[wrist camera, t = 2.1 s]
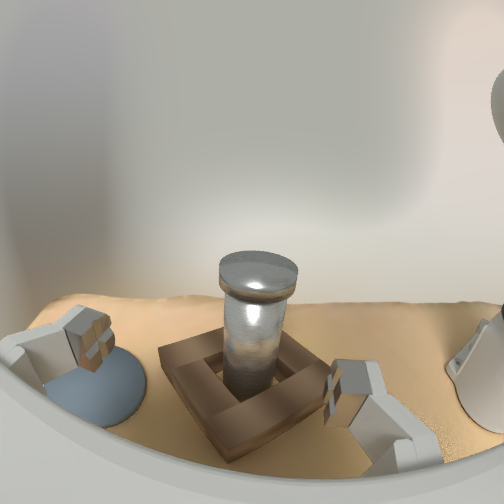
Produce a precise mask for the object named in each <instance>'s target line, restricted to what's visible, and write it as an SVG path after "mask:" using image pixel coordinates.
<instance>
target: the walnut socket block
mask: <svg viewBox="0 0 504 504" xmlns="http://www.w3.org/2000/svg"><path fill="white" fill-rule="evenodd" d="M223 341H224V327H222V328H219V329H216V330H213V331H210V332H207V333H204V334H201V335H197V336H194V337H191V338H188V339H185V340H182V341H178V342H175V343H172V344H169V345H165V346H162V347H159V348H158V352H159V357H160V363H161V367H162V369H163V371H164V372H165V374H166V376H167V378H168V379H169V381H170V383H171V384H172V386H173V387H174V389H175V391H176V392H177V394H178V395H179V397H180V398H181V400H182V402H183V403H184V405H185V406H186V408H187V409H188V411H189V412H190V414H191V415H192V417H193V418H194V419H195V421H196V422H197V424H198V425H199V427H200V428H201V429H202V431H203V432H204V433H205V435H206V436H207V438H208V439H209V440H210V442H211V443H212V444H213V446H214V447H215V448H216V449H217V451H218V452H219V453H220V455H221V456H222V457H223V458H224V460H225V461H226V462H227V463H230V462H232V461H234V460H236V459H238V458H240V457H242V456H244V455H246V454H248V453H249V452H251V451H253V450H255V449H257V448H258V447H260V446H262V445H264V444H265V443H267V442H269V441H270V440H272V439H274V438H275V437H277V436H279V435H280V434H282V433H283V432H285V431H287V430H288V429H290V428H291V427H293V426H294V425H296V424H297V423H299V422H300V421H302V420H303V419H305V418H306V417H308V416H309V415H311V414H312V413H313V412H315V411H316V410H318V409H319V408H320V407H322V406H323V405H324V404H325V403H324V401H323V390H324V385H325V381H326V378H327V376H328V375H330V374H331V367H330V366H328V365H327V364H326V363H324V362H323V361H322V360H320V359H319V358H318V357H316V356H315V355H314V354H312V353H311V352H310V351H308V350H307V349H306V348H304V347H303V346H302V345H300V344H299V343H298V342H297V341H295V340H294V339H293V338H291V337H290V336H289V335H288V334H286V333H285V332H284V331H282V332H281V337H280V343H279V348H278V354H277V359H276V364H275V369H274V374H273V376H274V377H275V378H276V379H277V380H278V381H279V382H280V383H278V384H277V385H275V386H273V387H271V388H269V389H267V390H265V391H263V392H262V393H260V394H258V395H256V396H254V397H252V398H250V399H248V400H246V401H244V402H242V403H239V401H238V400H237V399H236V398H235V397H234V396H233V395H232V393H231V392H230V391H229V390H228V389H227V388H226V387H225V385H224V384H223V383H222V382H221V381H220V379H219V378H218V377H217V376H216V375H215V373H217V372H219V371H222V370H223Z"/></svg>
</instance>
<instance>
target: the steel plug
mask: <svg viewBox="0 0 504 504" xmlns="http://www.w3.org/2000/svg"><path fill="white" fill-rule="evenodd" d="M297 275H298V268H297V266H296V265H295V264H294V263H293V262H292V261H291V260H289V259H287V258H285V257H283V256H281V255H278V254H274V253H270V252H264V251H240V252H235V253H231V254H229V255H227V256H225V257H224V258H222V259H221V261H220V264H219V285H220V287H221V289H222V290H223V291H224V292H225V306H224V341H223V384H224V385H225V387H226V388H227V389H228V390H229V391H230V392H231V393H232V395H233V396H234V397H235V398H236V399H237V400H238V401H239V403H242V402H244V401H246V400H248V399H250V398H252V397H254V396H256V395H258V394H260V393H262V392H263V391H265V390H267V389H269V388H271V384H272V379H273V374H274V369H275V364H276V359H277V354H278V348H279V343H280V337H281V332H282V326H283V320H284V315H285V309H286V303H287V298H289V297H290V296H291V295H292V294H293V293H294V291H295V287H296V281H297Z"/></svg>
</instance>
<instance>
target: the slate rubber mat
mask: <svg viewBox="0 0 504 504" xmlns="http://www.w3.org/2000/svg"><path fill="white" fill-rule="evenodd" d="M44 388H45V390H46V392H47V397H48V398H49V399H51V400H52V401H54V402H56V403H57V404H59V405H61V406H62V407H64V408H66V409H67V410H69V411H71V412H73V413H74V414H76V415H78V416H80V417H82V418H83V419H85V420H87V421H89V422H91V423H93V424H95V425H97V426H99V427H101V428H103V429H105V428H109V427H112V426H115V425H117V424H119V423H121V422H123V421H125V420H126V419H128V418H129V417H130V416H131V415H132V414H133V413H134V412H135V411H136V410H137V409H138V407H139V406H140V404H141V403H142V400H143V398H144V395H145V391H146V380H145V375H144V372H143V369H142V366H141V365H140V363H139V361H138V360H137V359H136V358H135V357H134V356H133V355H132V354H131V353H129V352H128V351H126V350H124V349H122V348H119V347H117V346H114V348H113V350H112V352H111V353H110V354H109V355H108V356H105V357H103V363H102V364H101V365H100V367H99V368H98V369H97V370H96V372H95V373H93V372H91V371H88V370H86V369H84V368H81V367H79V366H78V367H77V368H75V369H73V370H71V371H69V372H67V373H65V374H63V375H61V376H59V377H57V378H56V379H54V380H52V381H50V382H47V383H45V384H44Z"/></svg>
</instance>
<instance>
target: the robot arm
mask: <svg viewBox="0 0 504 504" xmlns="http://www.w3.org/2000/svg"><path fill="white" fill-rule="evenodd" d="M491 110H492V115H493V119H494V123H495V126H496V129H497V131H498V133H499V135H500V138H501V139H502V141H503V143H504V70H503V71H502V72H501V73H500V74H499V75H498V77H497V78H496V80H495V82H494V85H493V88H492V93H491ZM111 324H112V323H111V319H110V316H108V315H107V314H105V313H102V312H99V311H96V310H93V309H91V308H87V307H84V306H82V305H75V306H74V307H73V308H72V309H71V310H69V311H68V312H67V313H66V314H65V315H63V316H62V317H61V318H60V319H59V320H58V321H56V322H55V323H54V324H51V323H50V324H46V325H43V326H39V327H36V328H33V329H29V330H26V331H22V332H19V333H15V334H11V335H8V336H6V337H5V338H3V339H2V340H1V341H0V504H504V443H502V444H499V445H497V446H495V447H492V448H490V449H487V450H485V451H482V452H479V453H476V454H474V455H471V456H468V457H465V458H462V459H458V460H455V461H452V462H448V463H444V461H443V457H442V453H441V450H440V446H439V443H438V439H437V436H436V433H434V432H433V431H432V430H431V429H430V428H429V427H428V426H426V425H425V424H424V423H423V422H422V421H421V420H420V419H419V418H417V417H416V416H415V415H414V414H413V413H412V412H411V411H410V410H408V409H407V408H406V407H405V406H404V405H403V404H402V403H401V402H399V401H398V400H397V399H396V398H395V397H394V396H393V395H388V393H387V389H386V386H385V382H384V379H383V376H382V372H381V369H380V366H379V363H378V361H377V360H363V361H362V360H348V359H334V361H333V363H332V365H331V374H330V375H328V376H327V378H326V381H325V385H324V390H323V401H324V403H325V404H326V407H325V410H324V426H325V427H345V428H348V429H349V431H350V432H351V434H352V435H353V436H354V438H355V439H356V441H357V442H358V443H359V445H360V446H361V447H362V449H363V450H364V452H365V453H366V454H367V456H368V457H369V458H370V460H371V461H372V462H373V465H372V466H371V467H370V468H369V469H368V470H367V471H366V472H365V473H364V474H362V475H361V478H346V479H304V478H287V477H275V476H266V475H258V474H251V473H245V472H239V471H233V470H228V469H223V468H218V467H213V466H209V465H205V464H201V463H197V462H193V461H189V460H186V459H182V458H179V457H175V456H172V455H169V454H166V453H163V452H160V451H157V450H154V449H151V448H148V447H146V446H143V445H140V444H138V443H135V442H133V441H130V440H128V439H126V438H123V437H121V436H119V435H116V434H114V433H112V432H110V431H107V430H105V429H103V428H101V427H99V426H97V425H95V424H93V423H91V422H89V421H87V420H85V419H83V418H82V417H80V416H78V415H76V414H74V413H73V412H71V411H69V410H67V409H66V408H64V407H62V406H61V405H59V404H57V403H56V402H54V401H52V400H51V399H49V398H48V397H47V392H46V390H45V388H44V387H43V384H45V383H47V382H50V381H52V380H54V379H56V378H57V377H59V376H61V375H63V374H65V373H67V372H69V371H71V370H73V369H75V368H77V367H78V366H79V367H81V368H84V369H86V370H88V371H91V372H93V373H95V372H96V370H97V369H98V368H99V367H100V365H101V364H102V363H103V357H105V356H108V355H109V354H110V353H111V352H112V350H113V348H114V345H115V336H114V333H113V331H112V330H111V328H110V326H111ZM476 332H477V333H476V334H475V335H474V336H473V337H472V338H471V339H470V341H469V342H468V343H467V344H466V345H465V346H464V347H463V348H462V349H461V350H460V351H459V352H458V354H457V355H456V356H455V357H454V358H453V359H452V360H451V361H450V362H449V363H448V364H447V366H446V371H447V373H448V375H449V376H450V378H451V379H452V380H453V382H454V384H455V386H456V390H457V394H458V397H459V399H460V402H461V404H462V406H463V407H464V409H465V410H466V412H467V413H468V414H469V416H470V417H471V418H472V419H473V420H474V421H475V422H476V423H478V424H479V425H480V426H482V427H483V428H485V429H487V430H489V431H492V432H495V433H504V304H503V306H502V310H501V311H500V312H499V313H498V314H497V315H496V316H495V317H494V318H493V319H492V320H491V321H490V322H488V321H487V320H485V319H482V320H481V322H480V324H479V325H478V327H477V330H476Z"/></svg>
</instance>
